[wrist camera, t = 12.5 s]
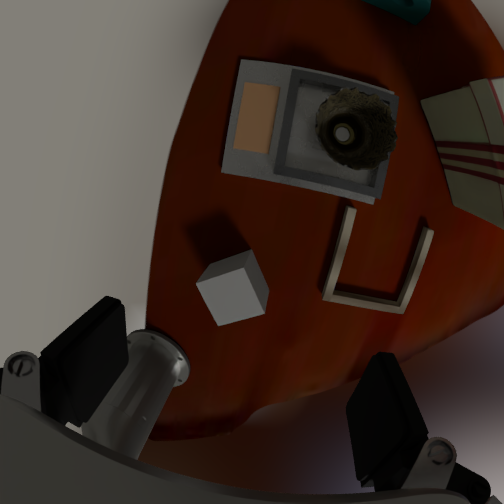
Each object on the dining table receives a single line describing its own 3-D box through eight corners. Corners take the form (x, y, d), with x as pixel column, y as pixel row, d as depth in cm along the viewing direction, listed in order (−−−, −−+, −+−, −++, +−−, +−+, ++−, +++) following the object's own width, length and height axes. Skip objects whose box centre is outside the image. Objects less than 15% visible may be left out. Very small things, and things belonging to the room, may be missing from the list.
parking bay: (399, 308, 35) (403, 314, 33) (321, 294, 36) (322, 299, 34) (429, 228, 31) (434, 231, 29) (346, 205, 31) (348, 207, 30)
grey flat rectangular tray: (371, 203, 31) (378, 207, 28) (223, 171, 32) (216, 173, 29) (391, 93, 26) (400, 88, 23) (242, 62, 27) (238, 53, 24)
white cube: (228, 301, 38) (218, 326, 33) (210, 263, 37) (195, 283, 31) (269, 289, 37) (264, 313, 31) (251, 248, 35) (243, 267, 30)
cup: (381, 118, 26) (407, 108, 19) (362, 176, 29) (384, 183, 22) (320, 93, 27) (329, 74, 19) (301, 152, 29) (304, 151, 22)
